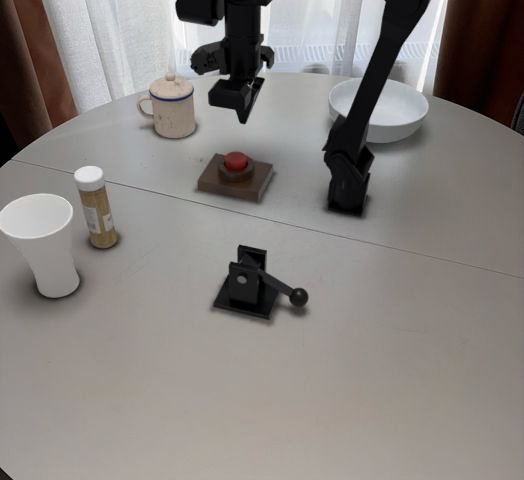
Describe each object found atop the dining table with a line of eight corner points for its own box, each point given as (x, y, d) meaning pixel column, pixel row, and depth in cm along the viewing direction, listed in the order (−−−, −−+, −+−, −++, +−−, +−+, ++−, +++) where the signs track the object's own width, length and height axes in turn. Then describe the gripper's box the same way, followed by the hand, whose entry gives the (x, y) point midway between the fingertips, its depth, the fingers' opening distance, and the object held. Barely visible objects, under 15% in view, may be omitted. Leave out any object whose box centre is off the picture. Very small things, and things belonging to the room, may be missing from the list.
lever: (304, 301, 90) (314, 290, 88) (299, 314, 89) (309, 303, 86) (239, 261, 88) (247, 249, 86) (232, 274, 86) (240, 262, 84)
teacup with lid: (196, 117, 128) (192, 63, 119) (196, 139, 122) (192, 84, 113) (141, 118, 127) (133, 64, 118) (139, 140, 121) (130, 85, 112)
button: (249, 161, 111) (249, 153, 109) (242, 173, 108) (242, 164, 107) (229, 158, 111) (229, 149, 110) (222, 169, 109) (222, 160, 107)
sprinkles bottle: (122, 243, 100) (107, 175, 90) (97, 252, 98) (80, 184, 88) (111, 229, 102) (96, 161, 92) (86, 237, 101) (68, 169, 90)
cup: (20, 271, 95) (-8, 202, 84) (84, 255, 98) (65, 187, 87) (30, 314, 89) (2, 245, 78) (98, 296, 92) (80, 227, 81)
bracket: (281, 291, 93) (283, 249, 86) (268, 321, 89) (270, 279, 82) (228, 279, 95) (226, 236, 88) (213, 308, 90) (211, 266, 84)
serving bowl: (429, 157, 119) (437, 126, 114) (327, 155, 119) (331, 123, 114) (413, 107, 133) (420, 77, 128) (322, 104, 133) (325, 74, 127)
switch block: (273, 173, 115) (273, 155, 111) (258, 202, 108) (258, 184, 105) (215, 162, 117) (215, 144, 113) (198, 190, 110) (196, 172, 107)
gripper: (214, 3, 99) (217, 92, 111) (173, 47, 88) (182, 142, 100) (276, 11, 97) (273, 101, 109) (243, 57, 86) (244, 153, 98)
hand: (243, 123), depth 104 cm, fingers closed
